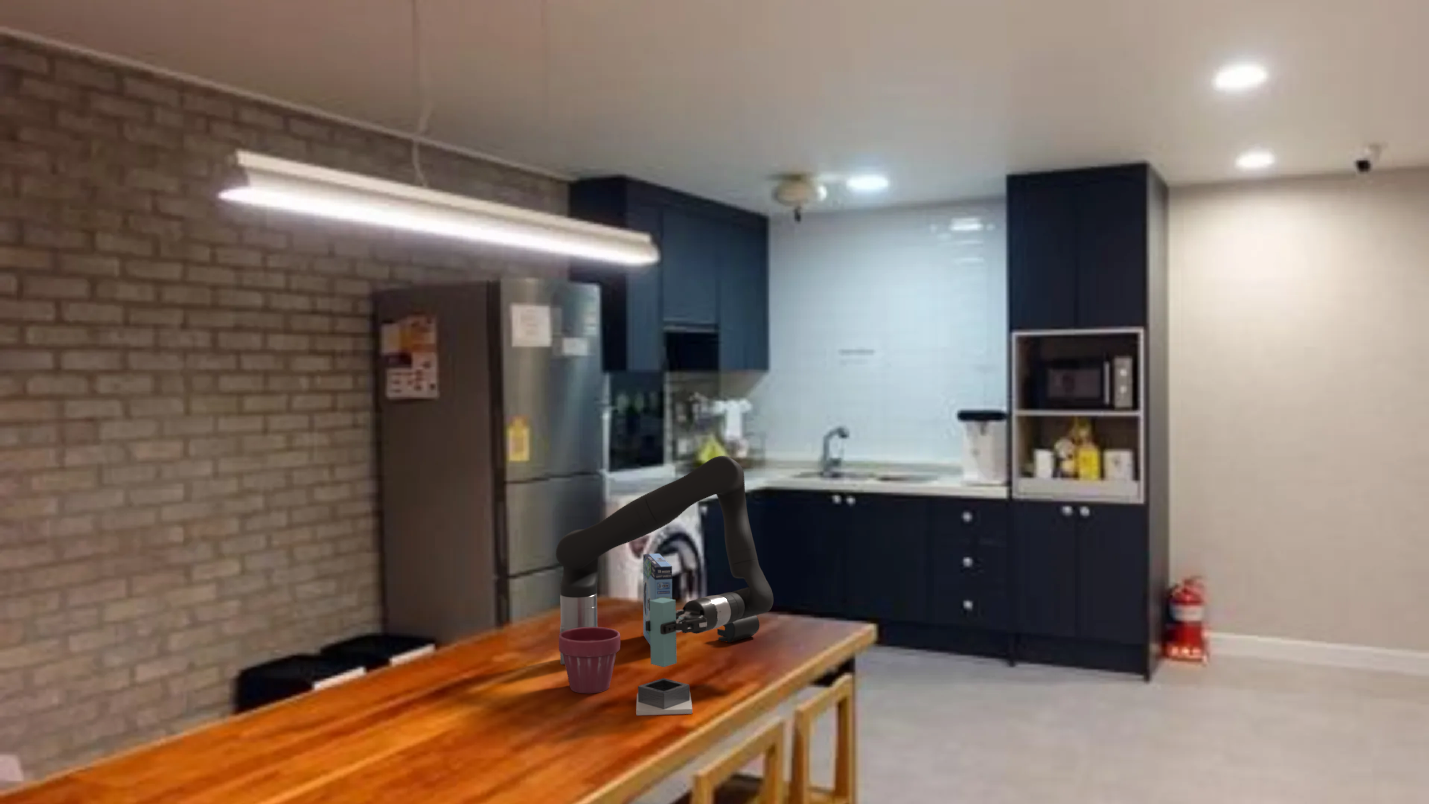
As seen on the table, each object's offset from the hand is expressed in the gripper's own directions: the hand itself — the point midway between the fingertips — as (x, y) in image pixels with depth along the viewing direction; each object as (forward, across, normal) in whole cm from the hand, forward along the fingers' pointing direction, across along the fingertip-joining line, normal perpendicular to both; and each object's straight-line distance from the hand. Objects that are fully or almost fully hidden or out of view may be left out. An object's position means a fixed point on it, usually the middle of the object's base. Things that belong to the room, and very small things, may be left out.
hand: (654, 628), depth 233 cm
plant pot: (-1, -23, +18) cm, 29 cm away
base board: (-3, 0, +18) cm, 18 cm away
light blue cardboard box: (-39, -38, +18) cm, 58 cm away
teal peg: (-3, 0, +8) cm, 9 cm away
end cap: (-57, -25, +18) cm, 65 cm away
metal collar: (-3, 0, +18) cm, 18 cm away
